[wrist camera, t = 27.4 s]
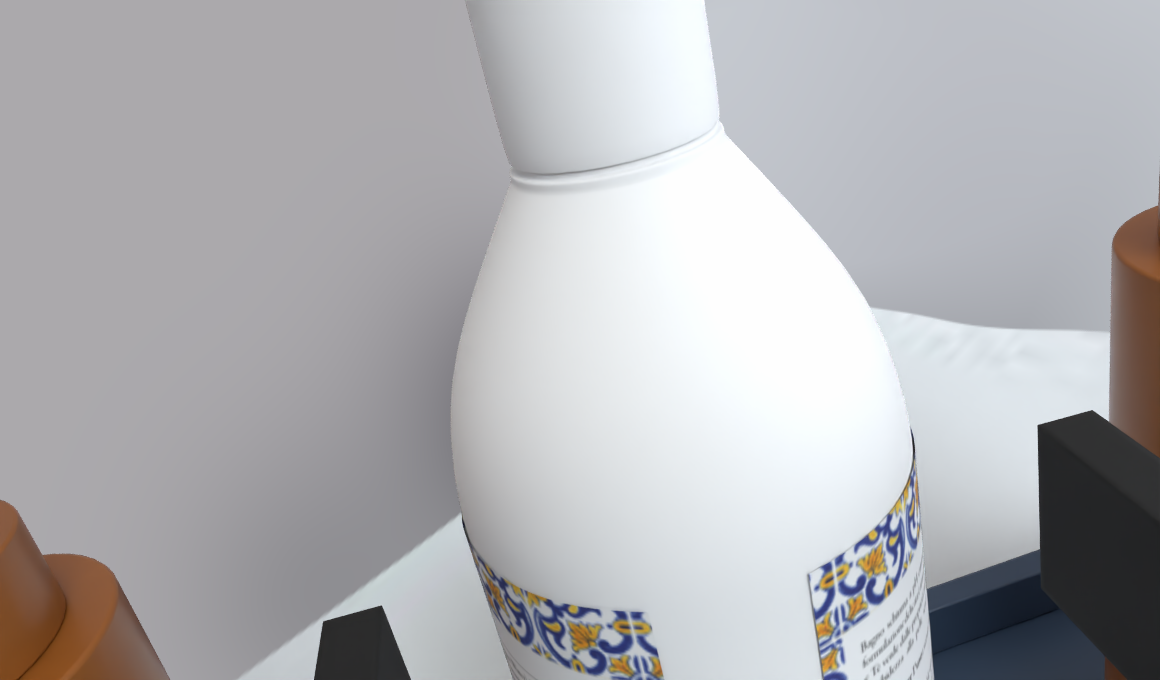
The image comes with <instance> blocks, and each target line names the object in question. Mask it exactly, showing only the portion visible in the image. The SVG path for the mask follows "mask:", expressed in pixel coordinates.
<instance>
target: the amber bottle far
mask: <svg viewBox="0 0 1160 680" xmlns="http://www.w3.org/2000/svg"><path fill="white" fill-rule="evenodd" d="M1110 329H1111V330H1110V386H1109V422H1110V423H1111V424H1113V425H1114V426H1115V427H1117V428H1118V429H1120V430H1121V431H1122V432H1124V433H1125V434H1127V435H1128V436H1129V437H1131V438H1132V439H1134V440H1135V441H1136V442H1138V443H1139V444H1141V445H1142V446H1144V447H1145V448H1146V449H1148V450H1149V451H1151V452H1152V453H1153V454H1155V455H1156V456H1158V457H1159V458H1160V176H1159V203H1158V206H1155V207H1153V208H1150V209H1148V210H1145V211H1143V212H1141V213H1139V214H1138V215H1136V216H1134V217H1132V218H1131V219H1129V220H1128V221H1126V222H1125V223H1124V224H1123V225H1122V226H1121V227H1120V228H1119V229H1118V231H1117V232H1116V234H1115V236H1114V238H1113V242H1112V268H1111V327H1110ZM1105 680H1127V679H1126V678H1125V677H1124V676H1123V675H1122V674H1121V673H1120V672H1119V671H1118V669H1117V668H1116V667H1115V666H1114V665H1113V664H1112V663H1111V662H1110V661H1109V660H1108V659H1107V658H1106V657H1105Z"/></svg>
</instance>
